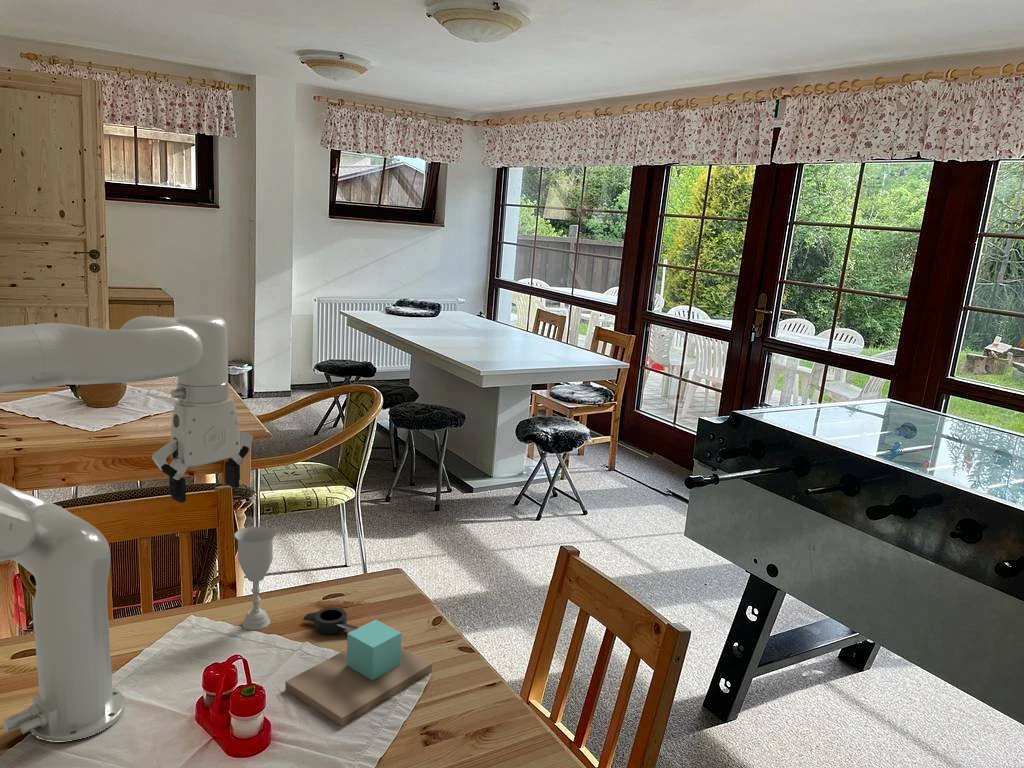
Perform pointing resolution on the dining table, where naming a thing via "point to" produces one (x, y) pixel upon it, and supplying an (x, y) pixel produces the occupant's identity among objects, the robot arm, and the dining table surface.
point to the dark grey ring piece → (330, 621)
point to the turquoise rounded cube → (373, 649)
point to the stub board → (353, 685)
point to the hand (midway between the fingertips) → (206, 492)
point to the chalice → (255, 568)
